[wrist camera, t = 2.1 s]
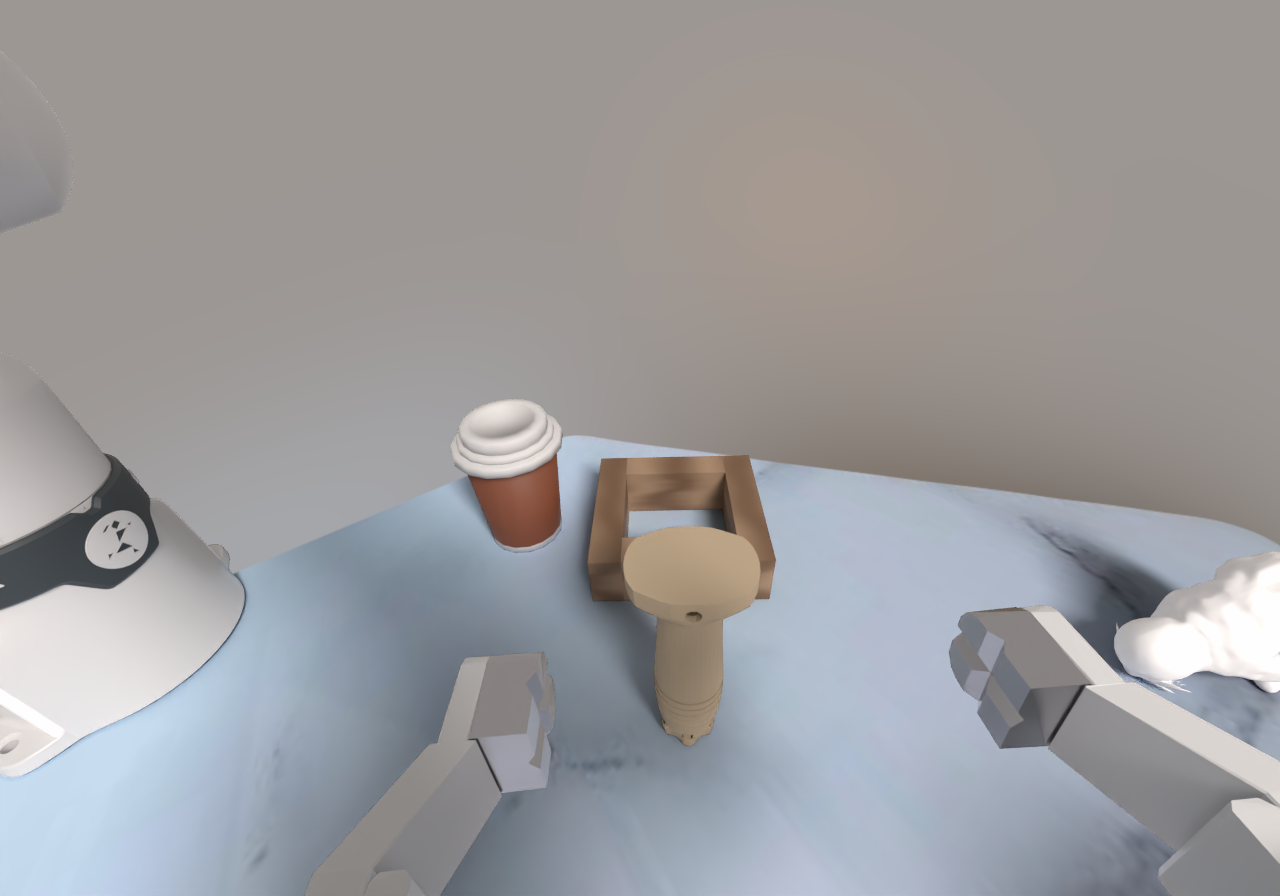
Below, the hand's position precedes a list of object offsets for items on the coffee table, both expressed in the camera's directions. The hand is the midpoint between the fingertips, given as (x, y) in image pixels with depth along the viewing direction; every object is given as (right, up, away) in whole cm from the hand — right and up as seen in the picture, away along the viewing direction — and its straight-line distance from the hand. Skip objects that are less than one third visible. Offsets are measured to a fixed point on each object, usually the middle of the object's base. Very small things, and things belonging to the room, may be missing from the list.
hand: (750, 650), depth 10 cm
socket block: (+1, -4, +36) cm, 36 cm away
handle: (+1, -14, +23) cm, 27 cm away
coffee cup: (-13, -4, +38) cm, 40 cm away
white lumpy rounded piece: (+35, -11, +25) cm, 44 cm away
